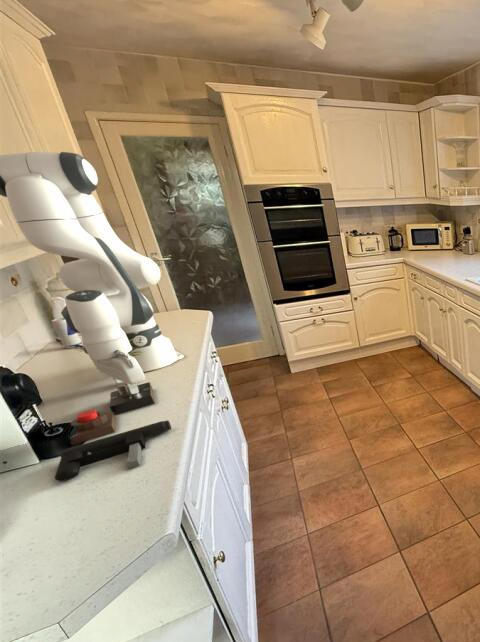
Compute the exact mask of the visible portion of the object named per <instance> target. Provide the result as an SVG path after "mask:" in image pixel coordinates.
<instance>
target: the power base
mask: <svg viewBox="0 0 480 642" xmlns="http://www.w3.org/2000/svg"><path fill="white" fill-rule="evenodd" d="M96 412H97V414H98V416H99V417H97V418H96V419H93V420H91V421H87V422H83V423H80V422H79V421H78V419H77V417H76V418H75V419H73V420H72V421H71V422H70V427H71V426H73V427H75V428H76V429H77V430H78V432H77V434H75V435H73V436H72V437H70V439H72V440H73V442H70V444H71V446H76V445H79V444H81V443H86V442H88V441H92V440H96V439H98V438H102V437H106V436H108V435H111V434H114V433H116V428H117V427H116V426H117V417H116V416H117V415H115V414H114V413H113V411H108V412H106V411H101V410H100V411H96Z"/></svg>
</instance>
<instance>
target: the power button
mask: <svg viewBox="0 0 480 642" xmlns="http://www.w3.org/2000/svg"><path fill="white" fill-rule="evenodd" d="M97 412H98V411H96V410H95V409H90V410H86V411H82V412H81V413H78V414H77V415H76V418H77V419H78V421H79V422H80V423H83V422H87V421H91V420H93V419H96V418H97V417H99V416H98V414H97Z"/></svg>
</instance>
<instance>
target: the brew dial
mask: <svg viewBox="0 0 480 642" xmlns="http://www.w3.org/2000/svg"><path fill="white" fill-rule="evenodd" d="M138 385H139V384H137V388H138V390H139V392H140V389H139V387H138ZM115 387H116V391H117V390H118V392H119V394H120V396H121V397H128V396H132V395H135V394H137V393H139V392H137V393H135V394H131V393H129V391H128V389H127V388H128V387H127V384H126V383H125V382H120V383H118V384H117V383H116V384H115Z"/></svg>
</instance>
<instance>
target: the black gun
mask: <svg viewBox="0 0 480 642" xmlns="http://www.w3.org/2000/svg"><path fill="white" fill-rule="evenodd" d="M171 430H172V424H171V422H170V421H169V420H168V419H167V420H160V421H158V422H154V423H151V424H147V425H143V426H140V427H137V428H134V429H130V430H127V431H124V432H119V433H116V434H113V435H110V436H105V437H101V438H99V439H95V440H93V441H92V440H91V441H89V442H84V443H83V444H77V445H74V446H71V447H69V448H65V449H64V450H62V452H61V453H60V461H59V463H58V467H57V469H56V472H55V475H54V480H56V481H59V482H63V481H64V482H65V481H69V480H72V479H74V478H76V477H77V476H78V475H79V474H80V471H81V468H83V467H87V466H89V465H93V464H95V463H99V462H101V461H105V460H109V459H112V458H115V457H118V456H121V455H124V454H128V456H127V465H128V467H129V468H130V469H134V468H137V467H139V466H141V459H142V450H145V449H146V446H147V445H146V443H147V438H150V437H153V436H157V435H161V434H164V433H167V432H168V431H171Z"/></svg>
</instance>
